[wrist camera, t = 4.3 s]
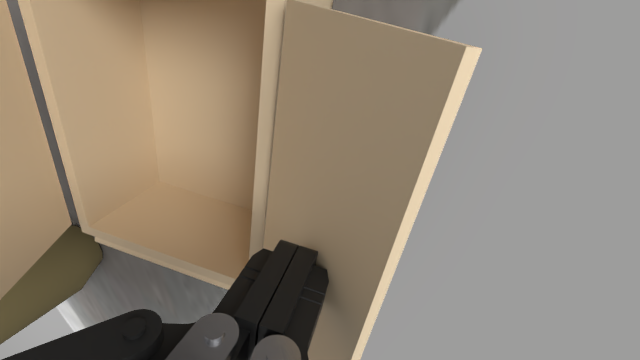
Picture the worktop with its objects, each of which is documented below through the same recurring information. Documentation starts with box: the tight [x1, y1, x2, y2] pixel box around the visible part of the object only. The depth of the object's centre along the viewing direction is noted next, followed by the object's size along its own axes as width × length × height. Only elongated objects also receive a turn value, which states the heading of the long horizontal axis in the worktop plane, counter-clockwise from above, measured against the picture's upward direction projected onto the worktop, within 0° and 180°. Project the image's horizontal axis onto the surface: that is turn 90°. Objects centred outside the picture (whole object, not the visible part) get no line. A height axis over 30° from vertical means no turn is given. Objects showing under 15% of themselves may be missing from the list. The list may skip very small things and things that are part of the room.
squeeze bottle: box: [0, 225, 103, 344], centre depth 31 cm, size 8×8×18 cm
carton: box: [18, 0, 333, 290], centre depth 21 cm, size 23×14×8 cm, turn 170°
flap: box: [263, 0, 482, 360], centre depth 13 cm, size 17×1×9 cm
